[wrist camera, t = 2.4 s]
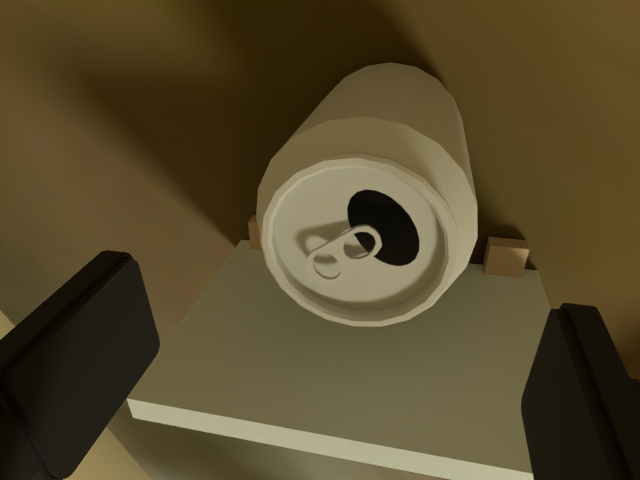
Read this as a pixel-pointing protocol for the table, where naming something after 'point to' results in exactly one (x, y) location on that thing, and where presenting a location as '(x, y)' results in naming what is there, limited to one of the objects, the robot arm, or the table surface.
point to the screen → (359, 370)
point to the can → (371, 200)
